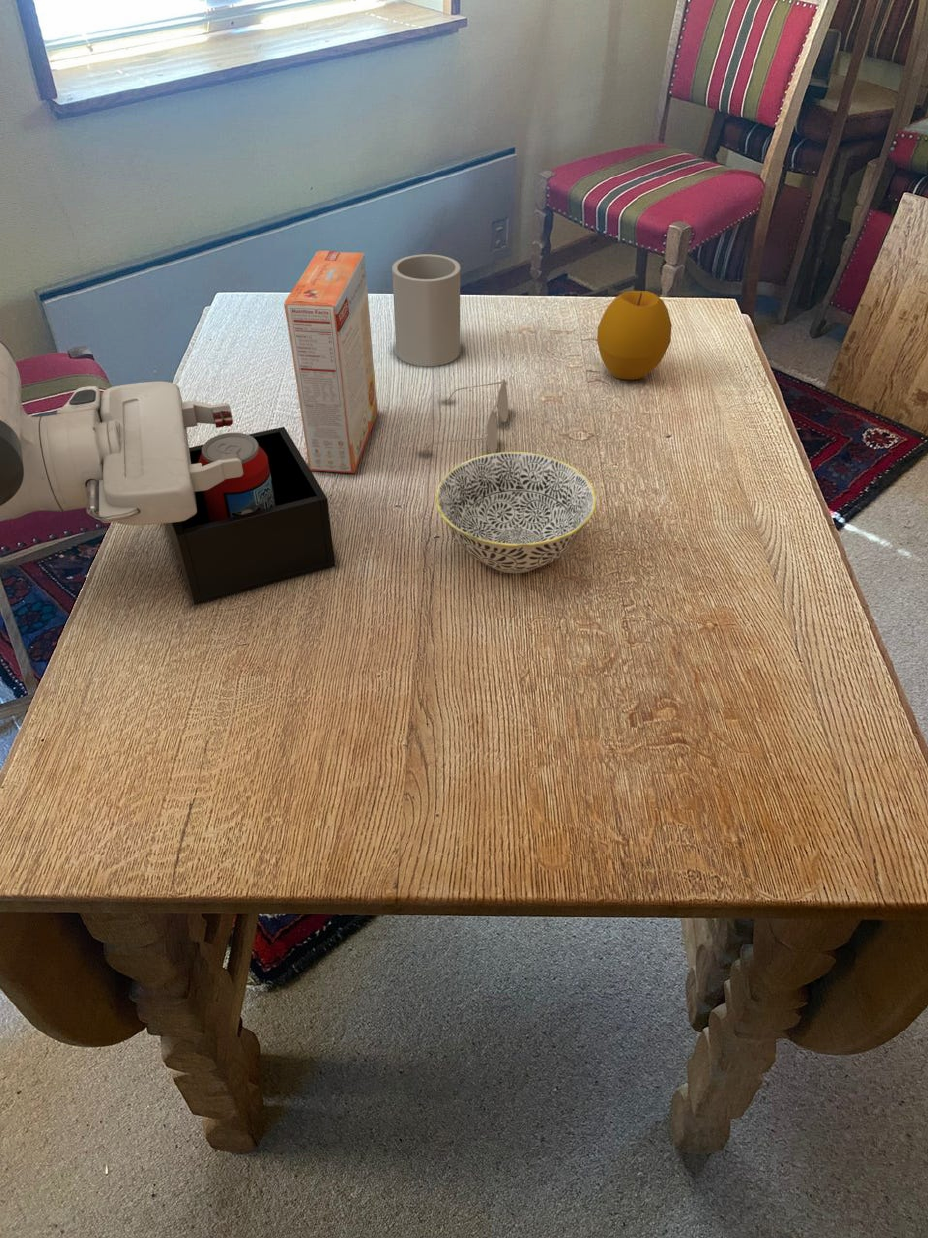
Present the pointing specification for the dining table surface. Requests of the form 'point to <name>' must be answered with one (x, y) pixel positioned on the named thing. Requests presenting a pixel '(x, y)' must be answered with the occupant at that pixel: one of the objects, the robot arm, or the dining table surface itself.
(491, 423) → the sunglasses
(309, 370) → the cracker box
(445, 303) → the cup
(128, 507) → the robot arm
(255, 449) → the beverage can
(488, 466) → the bowl
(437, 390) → the dining table surface
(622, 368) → the apple
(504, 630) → the dining table surface
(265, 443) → the black open box
